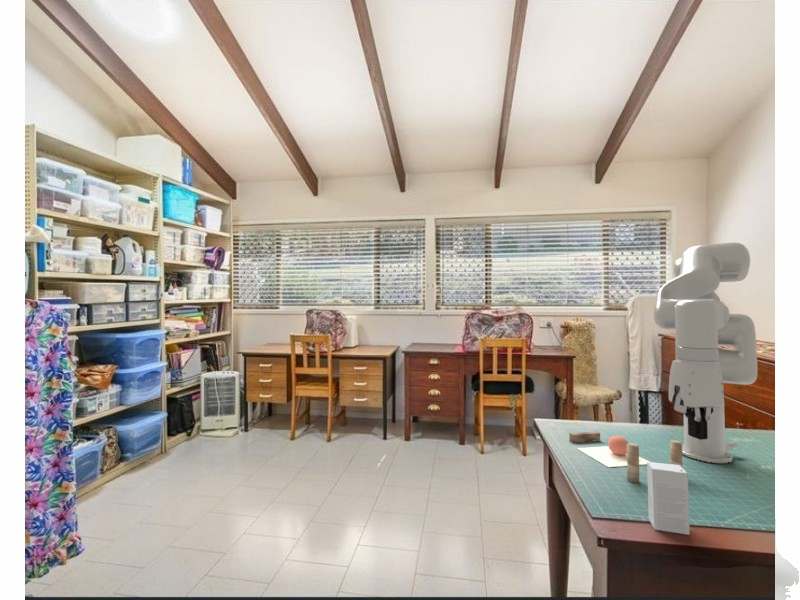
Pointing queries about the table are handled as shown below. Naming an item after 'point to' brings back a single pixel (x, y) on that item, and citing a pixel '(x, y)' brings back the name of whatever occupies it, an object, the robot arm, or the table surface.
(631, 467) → the post
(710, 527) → the table surface
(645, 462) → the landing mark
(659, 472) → the skincare box
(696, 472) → the table surface
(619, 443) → the ball
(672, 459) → the post
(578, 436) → the wall
